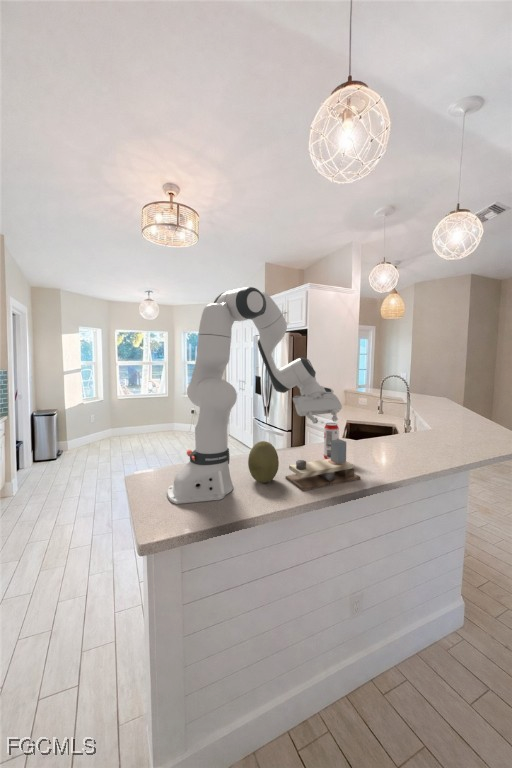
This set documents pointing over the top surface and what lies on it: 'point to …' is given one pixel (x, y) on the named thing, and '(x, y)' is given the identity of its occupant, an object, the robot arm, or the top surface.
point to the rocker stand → (322, 479)
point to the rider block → (338, 451)
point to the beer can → (330, 438)
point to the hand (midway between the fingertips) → (325, 421)
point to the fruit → (263, 462)
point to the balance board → (318, 467)
